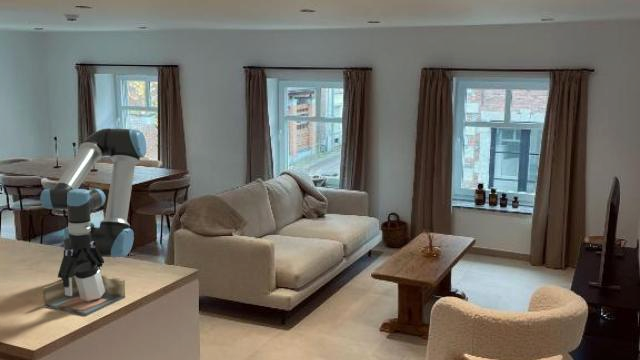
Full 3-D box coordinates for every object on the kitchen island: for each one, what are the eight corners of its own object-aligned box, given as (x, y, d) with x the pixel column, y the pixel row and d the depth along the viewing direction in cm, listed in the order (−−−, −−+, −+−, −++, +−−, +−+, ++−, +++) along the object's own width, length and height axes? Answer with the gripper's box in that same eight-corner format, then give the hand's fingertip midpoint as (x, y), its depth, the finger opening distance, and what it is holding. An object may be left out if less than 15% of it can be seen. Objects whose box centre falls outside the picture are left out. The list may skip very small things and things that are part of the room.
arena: (44, 306, 230) (42, 287, 229) (84, 289, 248) (83, 272, 247) (86, 315, 222) (85, 296, 221) (125, 297, 240) (124, 279, 239)
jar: (76, 298, 235) (68, 269, 231) (95, 287, 241) (87, 259, 237) (91, 303, 230) (83, 274, 226) (109, 292, 236) (102, 264, 232)
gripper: (61, 242, 214) (64, 302, 218) (112, 226, 236) (114, 280, 240) (44, 239, 217) (48, 298, 221) (97, 223, 239) (99, 277, 243)
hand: (82, 289), depth 230 cm, fingers open, 13 cm apart
